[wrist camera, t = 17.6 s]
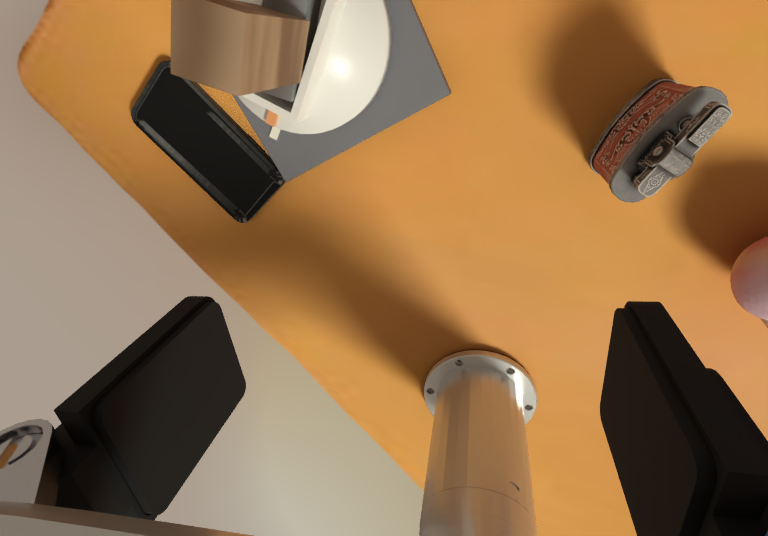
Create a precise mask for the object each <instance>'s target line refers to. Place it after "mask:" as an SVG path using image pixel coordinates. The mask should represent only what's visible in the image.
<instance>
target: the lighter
mask: <svg viewBox="0 0 768 536" xmlns="http://www.w3.org/2000/svg"><path fill="white" fill-rule="evenodd" d="M731 116H732V109H731V108H730V107H728V100H727V98H726V96H725V94H724V93H723V92H722V91H720V90H718V89H716V88H713V87H706V86H699V87H691V86H687V85H682V84H679V83H678V82H676V81H674V80H671V79H664V78H660V79H656V80H653V81H652V82H650V83H649V84H648V85H646V86H645V87H644V88H643V89H642V90H641V91H640V92H639V93H637V94H636V95H635V96H634V97H633V98H632V99H631V100H630V101H629V102H628V103H627V104H626V105H625V106H624V107H623V108H622V109H621V110H620V111H619V112H618V113H617V115H616V116H615V117H614V118H613V119H612V121H611V122H610V123H609V125H608V126H607V127H606V129H605V130H604V131H603V133H602V134H601V136H600V137H599V139H598V141H597V142H596V144H595V146H594V147H593V149H592V151H591V153H590V155H589V158H588V161H589V165H590V167H591V168H592V170H593V171H594V172H596V173H597V174H598V175H601V176H602V177H603V178H604V179H605V181H606V182H607V183H608V184H609V187H610V189H611V191H612V193H613V194H614V195H615V196H616V197H617V198H618V199H620V200H622V201H624V202H631V203H633V202H638V201H640V200H642V199H644V198H646V197H651V196H653V195H654V194H656V193H657V192H658V191H659V190H660V189H661V188H662V187H663V186H664V185H665V184H666V183H667V182H668V181H669V180H672V179H674V178H676V177H679V176H681V175H682V174H684V173H685V172H686V171H687V170H688V169H689V168H690V167H691V165H692V163H693V159H694V157H695V154H696V153H697V151H698V150H699V149H700V148H701V147H702V146H703V145H704V144H705V143H706V142H707V141H708V140H709V139H710V138H711V137H712V136H713V135H714V134H715V133H716V132H717V131H718V130H719V129H720V128H721V127H722V126H723V125H724V124H725V123H726V122H727V121H728V120H729V118H730V117H731Z"/></svg>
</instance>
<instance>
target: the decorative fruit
mask: <svg viewBox="0 0 768 536" xmlns="http://www.w3.org/2000/svg"><path fill="white" fill-rule="evenodd" d="M730 281H731V289H732V292H733V295H734V297H735V299H736V300H737V302H738V303H739V304H740V306H741V307H742V308H743V309H745V310H746V311H747V312H749V313H751V314H753V315H755V316H757V317H759V318H760V319H761V320H762V321H763V323H764V324H765V325H766V327H767V328H768V236H767V237H764V238H762V239H760V240H758V241H756V242H754V243H753V244H751V245H750V246H748V247H747V248H746V249H744V250H743V251H742V252H741V254H740V255H739V256H738V258H737V259H736V261H735V263H734V265H733V268H732V272H731V280H730Z"/></svg>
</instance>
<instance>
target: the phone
mask: <svg viewBox="0 0 768 536" xmlns="http://www.w3.org/2000/svg"><path fill="white" fill-rule="evenodd" d="M131 116H132V120H133V122H134V123H135V124H136V126H137V127H138V128H139V129H141V130H142V131H143V132H144V133H145V134H146V135H147V136H148V137H149V138H150V139H151V140H152V141H153V142H154V143H155V144H156V145H157V146H158V147H159V148H160V149H161V150H163V151H164V152H165V153H166V154H167V155H168V156H169V157H170V158H171V159H172V160H173V161H174V162H175V163H176V164H177V165H178V166H179V167H180V168H181V169H182V170H183V171H185V172H186V173H187V174H188V175H189V176H190V177H191V178H192V179H193V180H194V181H195V182H196V183H197V184H198V185H199V186H200V187H201V188H202V189H203V190H204V191H206V192H207V193H208V194H209V195H210V196H211V197H212V198H213V199H214V200H215V201H216V202H217V203H218V204H219V205H220V206H221V207H222V208H223V209H224V210H225V211H226V212H228V213H229V214H230V215H231V216H232V217H233V218H234V219H235V220H236V221H238V222H240V223H245V222H248V221H249V220H250V219H252V218H253V217H254V216H255V214H256V213H257V212H258V211H259V210H260V209H261V208H262V207H263V206H264V205H265V204H266V203H267V202H268V200H269V199H270V198H271V197H272V196H273V195H274V194H275V193H276V192H277V191H278V190H279V189H280V188H281V187H282V185H283V184H284V182H285V180H284V178H283V176H282V175H281V173H280V172H279V170H278V168H277V167H276V165H275V163H274V162H273V160H272V159H271V158H270V157H269V156H268V155H267V154H266V153H265V152H264V151H263V150H262V149H261V147H260V146H258V145H257V144H256V142H255V141H254V140H253V139H252V138H251V137H249V136H248V135H247V134H246V132H245V131H244V130H243V129H242V128H241V127H240V126H239V125H238V124H237V123H236V122H235V121H234V120H233V119H232V118H231V117H230V116H229V115H228V114H227V113H226V112H225V111H224V110H223V109H222V108H221V107H220V106H219V105H218V104H217V103H216V102H215V101H214V100H213V99H212V98H211V97H210V96H209V95H208V94H207V93H206V92H205V91H204V90H203V89H202V88H201V87H200V86H199V85H198V84H197V82H194V81H191V80H188V79H185V78H182V77H179V76H176V75H173V74H171V61H163V62H161V63H160V64H159V65H158V67H157V68H156V70H155V72H154V73H153V75H152V77H151V78H150V80H149V82H148V83H147V85H146V87H145V88H144V90H143V92H142V93H141V95H140V97H139V98H138V100H137V102H136V103H135V105H134V107H133V108H132V111H131Z"/></svg>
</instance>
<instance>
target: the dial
mask: <svg viewBox="0 0 768 536" xmlns="http://www.w3.org/2000/svg"><path fill="white" fill-rule="evenodd" d="M236 1H242V2H247V3H253V4H257V5H260V6H262V1H263V0H236ZM391 44H392V39H391V23H390V16H389V12H388V8H387V4H386V1H385V0H321V5H320V12H319V18H318V24H317V30H316V34H315V37H314V41H313V44H312V47H311V50H310V53H309V56H308V60H307V63H306V66H305V69H304V72H303V75H302V79H301V82H300V85H299V88H298V91H297V94H296V97H295V101H292V102H290V101H287V100H284V99H281V98H278V97H275V96H272V95H269V94H266V93H263V92H256V93H251V94H247V95H242V96H238V97H239V99H240V100H241V101H242V102H243V103H244V104H245V105H246V106H247V107H248V108H249V109H250V110H251V111H252V112H253V113H254V114H255V115H257V116H258V117H259V118H261V119H262V120H264V121H265V123H267V124H269V125H271V126H273V127H277V128H279V129H281V130H285V131H288V132H292V133H298V134H317V133H323V132H326V131H330V130H333V129H335V128H337V127H339V126H342V125H343V124H345V123H347V122H348V121H350V120H352V119H353V118H355V117H356V116H357V115H359V114H360V113H361V112H362V111H363V110H364V109H365V108H366V107H367V106H368V105H369V104H370V103H371V101H372V100H373V99H374V97H375V96H376V94H377V93H378V91H379V89H380V87H381V85H382V83H383V81H384V78H385V75H386V72H387V69H388V65H389V60H390V54H391Z"/></svg>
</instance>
